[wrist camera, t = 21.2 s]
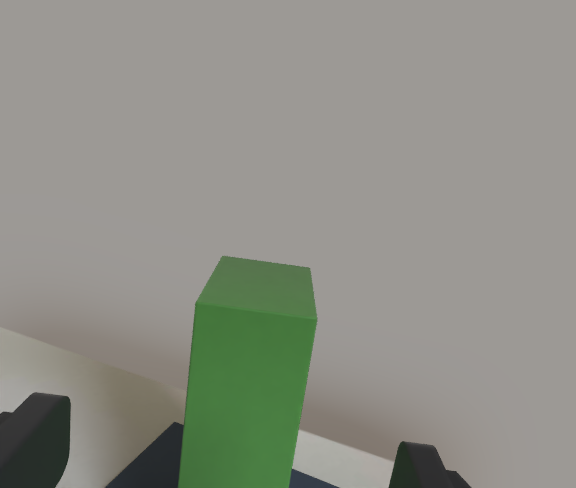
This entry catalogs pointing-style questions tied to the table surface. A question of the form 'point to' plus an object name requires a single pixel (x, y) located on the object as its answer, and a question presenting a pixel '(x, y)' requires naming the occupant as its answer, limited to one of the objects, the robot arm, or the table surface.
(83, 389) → the table surface
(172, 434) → the mat
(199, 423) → the tall green pillar block
